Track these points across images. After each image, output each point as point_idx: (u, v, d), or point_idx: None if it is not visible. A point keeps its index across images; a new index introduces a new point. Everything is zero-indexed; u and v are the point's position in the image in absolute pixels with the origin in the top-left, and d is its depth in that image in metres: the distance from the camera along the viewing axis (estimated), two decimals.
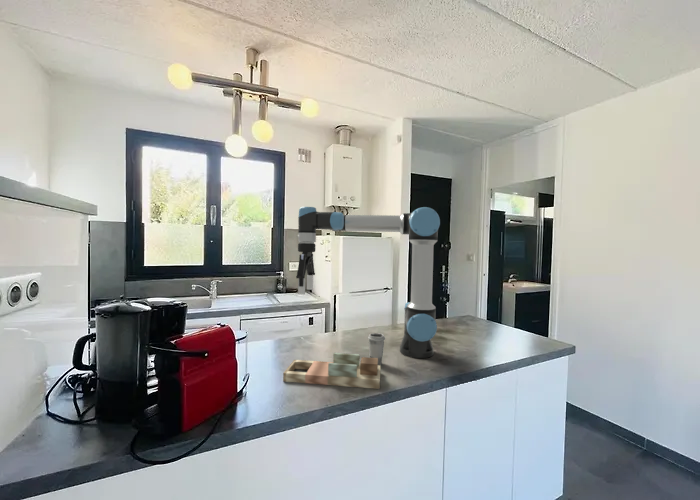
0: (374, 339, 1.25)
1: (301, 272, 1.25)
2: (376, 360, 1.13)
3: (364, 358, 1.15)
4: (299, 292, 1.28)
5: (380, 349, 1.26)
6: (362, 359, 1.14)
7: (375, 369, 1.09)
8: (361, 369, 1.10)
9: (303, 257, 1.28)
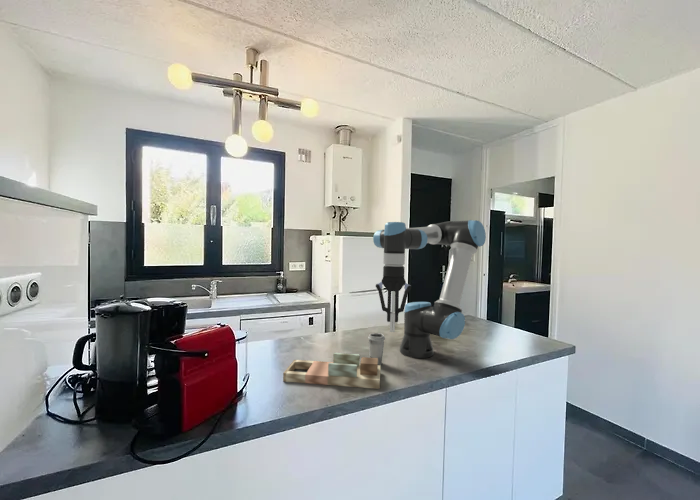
0: (374, 339, 1.25)
1: (381, 305, 1.11)
2: (376, 360, 1.13)
3: (364, 358, 1.15)
4: None
5: (380, 349, 1.26)
6: (362, 359, 1.14)
7: (375, 369, 1.09)
8: (361, 369, 1.10)
9: (377, 288, 1.11)
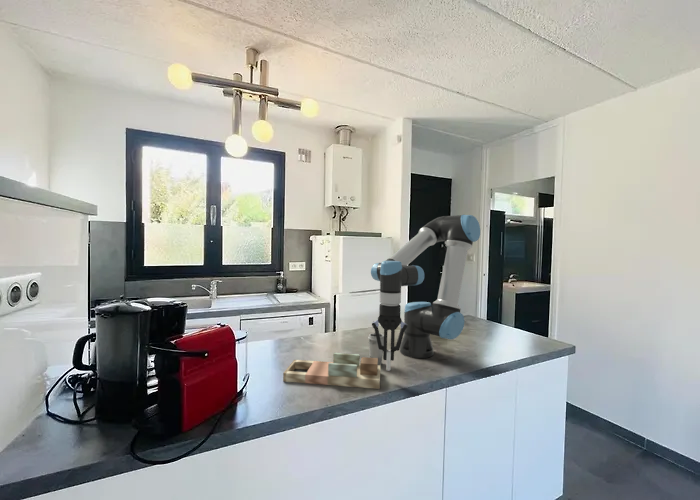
0: (374, 339, 1.25)
1: None
2: (376, 360, 1.13)
3: (364, 358, 1.15)
4: None
5: None
6: (362, 359, 1.14)
7: (375, 369, 1.09)
8: (361, 369, 1.10)
9: (373, 326, 1.12)
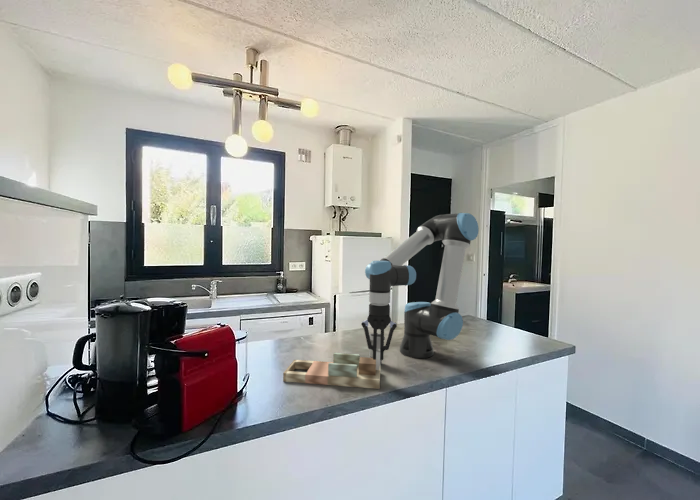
0: None
1: (367, 343, 1.12)
2: (375, 360, 1.13)
3: (363, 358, 1.15)
4: None
5: None
6: (361, 359, 1.14)
7: (374, 369, 1.10)
8: (360, 369, 1.10)
9: None
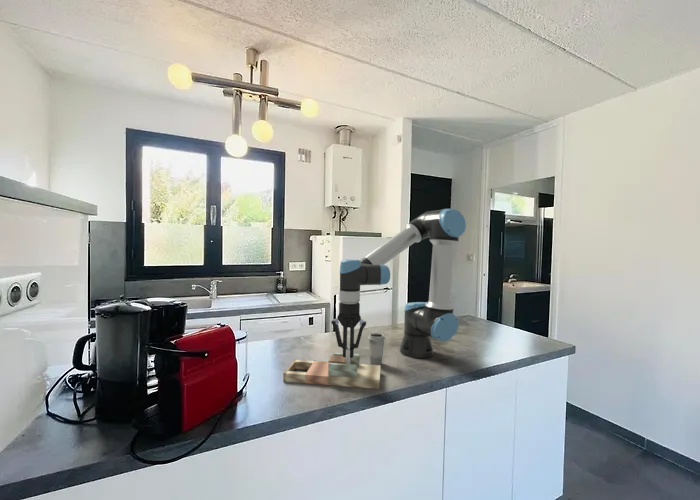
0: (374, 339, 1.25)
1: None
2: (345, 358, 1.14)
3: (333, 356, 1.16)
4: None
5: (380, 349, 1.26)
6: (331, 357, 1.15)
7: None
8: None
9: None
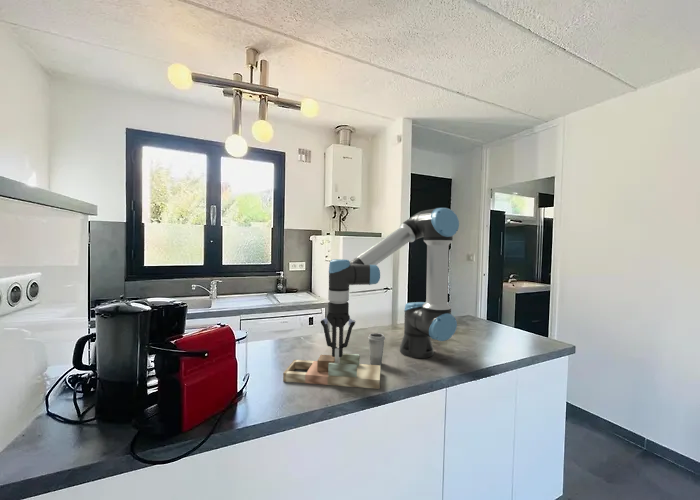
0: (374, 339, 1.25)
1: None
2: (334, 357, 1.15)
3: (323, 355, 1.17)
4: None
5: (380, 349, 1.26)
6: (320, 356, 1.15)
7: None
8: (318, 366, 1.12)
9: None
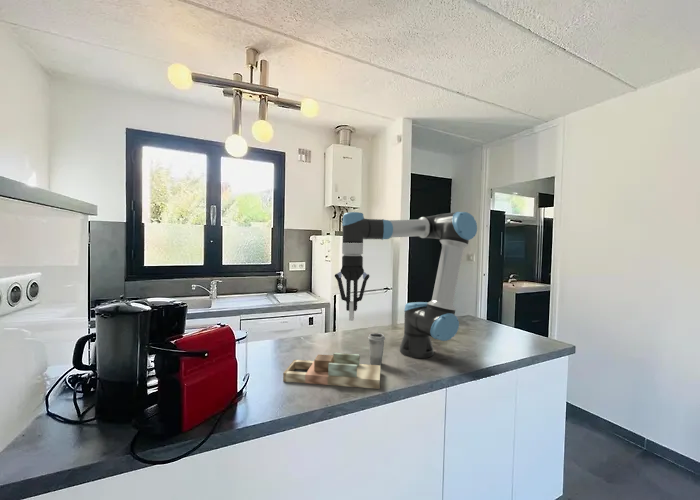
0: (374, 339, 1.25)
1: None
2: (331, 357, 1.15)
3: (320, 355, 1.17)
4: None
5: (380, 349, 1.26)
6: (317, 356, 1.16)
7: None
8: (315, 366, 1.12)
9: None
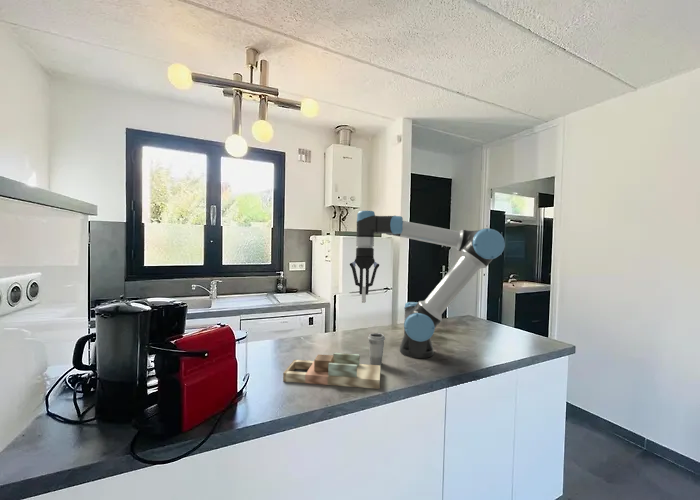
0: (374, 339, 1.25)
1: None
2: (331, 357, 1.15)
3: (320, 355, 1.17)
4: None
5: (380, 349, 1.26)
6: (317, 356, 1.16)
7: None
8: (315, 366, 1.12)
9: None
